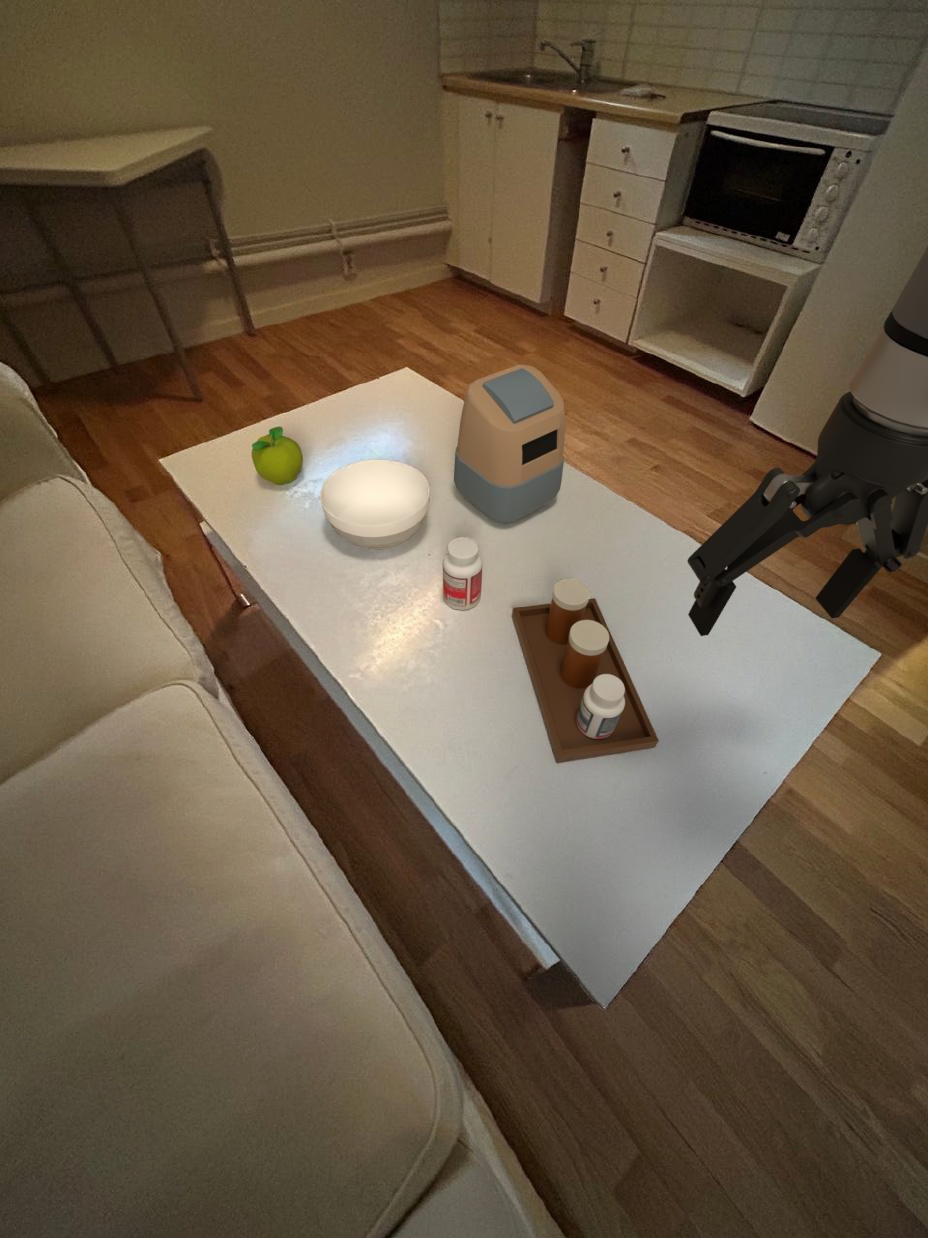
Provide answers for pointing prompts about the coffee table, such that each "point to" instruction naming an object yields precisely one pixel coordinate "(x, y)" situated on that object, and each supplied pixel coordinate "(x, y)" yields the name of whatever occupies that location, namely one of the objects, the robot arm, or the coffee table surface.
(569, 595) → the amber bottle far
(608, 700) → the pill bottle
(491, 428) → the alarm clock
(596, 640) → the amber bottle middle
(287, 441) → the fruit
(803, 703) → the coffee table surface
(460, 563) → the pill bottle
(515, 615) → the tray
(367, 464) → the bowl
